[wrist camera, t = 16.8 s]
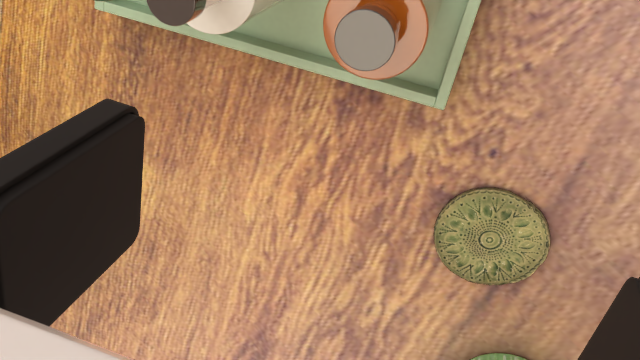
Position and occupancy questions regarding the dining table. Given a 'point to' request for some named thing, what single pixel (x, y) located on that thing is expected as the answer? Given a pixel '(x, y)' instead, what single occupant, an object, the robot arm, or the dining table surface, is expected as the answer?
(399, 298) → the dining table surface
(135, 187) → the robot arm
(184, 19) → the frosted bottle
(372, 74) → the amber bottle
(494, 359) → the ramekin
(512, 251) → the medallion
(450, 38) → the tray
